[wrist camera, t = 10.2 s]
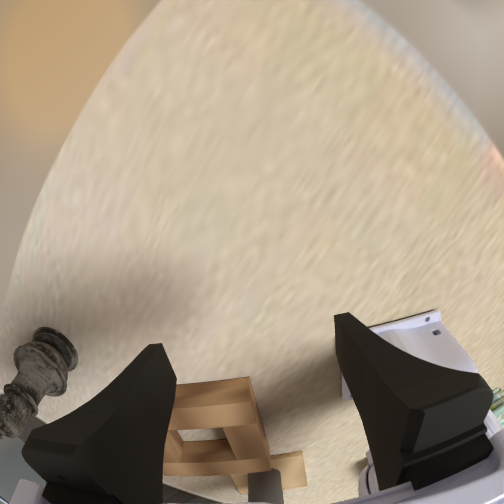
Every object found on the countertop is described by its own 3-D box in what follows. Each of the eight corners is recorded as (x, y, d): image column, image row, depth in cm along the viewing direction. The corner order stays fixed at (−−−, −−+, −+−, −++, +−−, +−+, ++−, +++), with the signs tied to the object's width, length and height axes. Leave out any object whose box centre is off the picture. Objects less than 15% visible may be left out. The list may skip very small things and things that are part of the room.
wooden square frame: (249, 376, 26) (249, 401, 24) (269, 449, 31) (271, 470, 28) (125, 387, 27) (116, 409, 24) (168, 455, 31) (164, 475, 28)
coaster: (302, 451, 31) (302, 454, 30) (306, 482, 34) (307, 485, 34) (224, 460, 31) (224, 464, 31) (240, 490, 35) (240, 494, 34)
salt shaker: (88, 349, 25) (32, 449, 14) (72, 382, 27) (26, 471, 16) (37, 312, 24) (-35, 398, 13) (26, 349, 26) (-31, 429, 14)
